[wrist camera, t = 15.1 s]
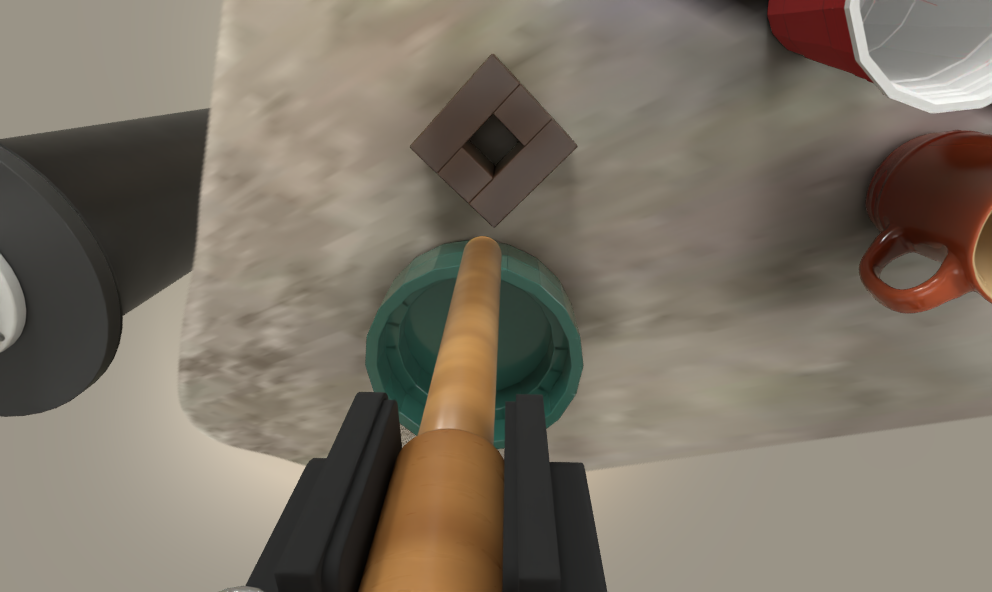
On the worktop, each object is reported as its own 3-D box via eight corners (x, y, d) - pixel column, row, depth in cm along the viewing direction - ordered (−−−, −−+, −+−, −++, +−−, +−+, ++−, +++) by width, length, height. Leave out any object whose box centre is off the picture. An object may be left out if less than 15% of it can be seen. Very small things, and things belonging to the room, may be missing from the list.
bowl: (345, 327, 39) (322, 365, 34) (474, 195, 35) (469, 217, 30) (480, 433, 43) (477, 482, 38) (612, 328, 39) (627, 367, 34)
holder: (419, 138, 33) (408, 147, 30) (494, 54, 31) (492, 52, 28) (495, 211, 35) (494, 228, 32) (570, 137, 33) (578, 146, 29)
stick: (447, 248, 22) (256, 813, 5) (482, 213, 21) (388, 738, 5) (483, 282, 22) (411, 880, 6) (519, 249, 22) (549, 823, 5)
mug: (956, 85, 31) (1145, 94, 22) (1006, 191, 34) (1195, 240, 25) (778, 209, 35) (877, 263, 25) (836, 297, 37) (945, 375, 28)
